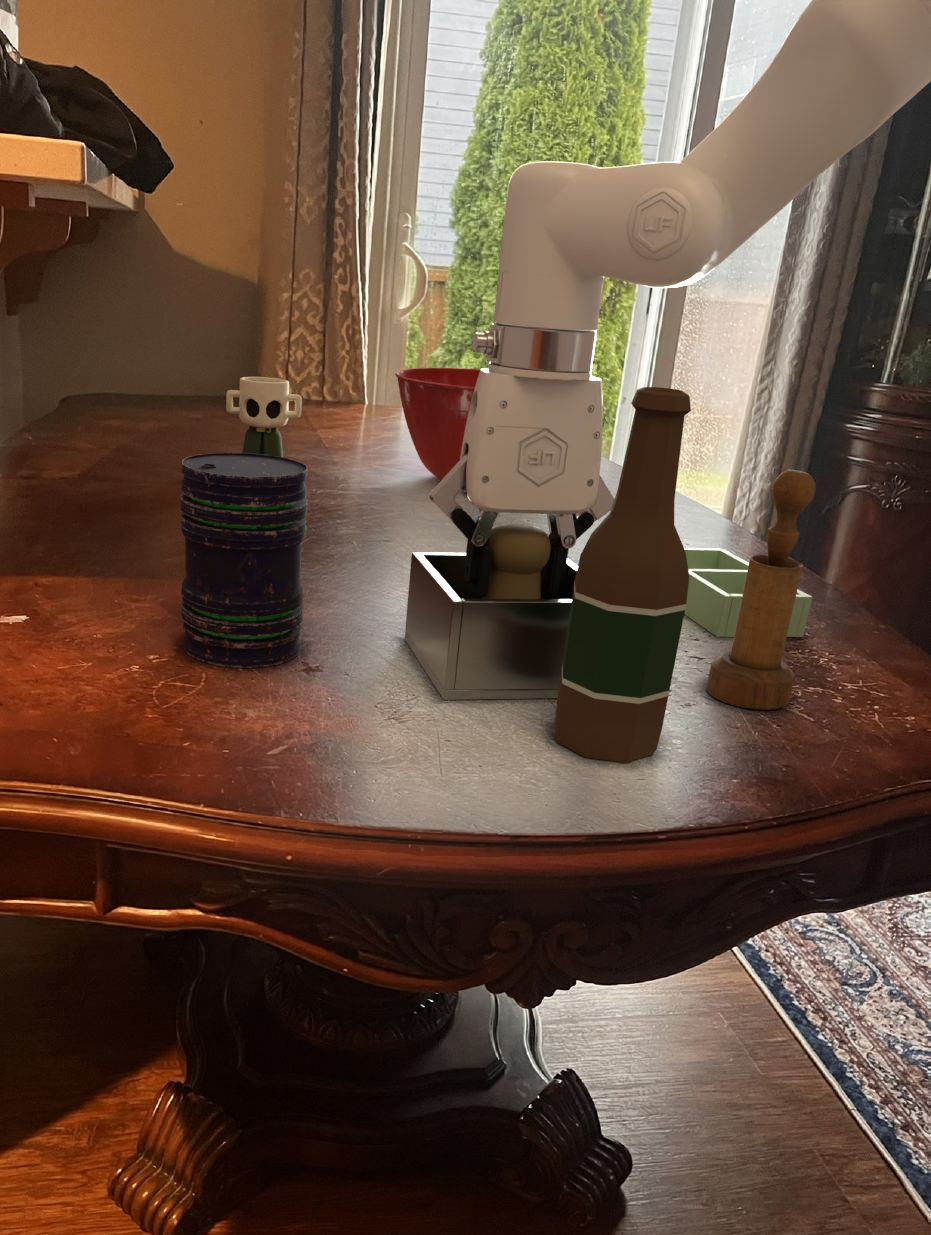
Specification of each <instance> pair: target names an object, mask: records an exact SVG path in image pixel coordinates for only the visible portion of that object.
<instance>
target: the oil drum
mask: <svg viewBox="0 0 931 1235" xmlns="http://www.w3.org/2000/svg"><path fill="white" fill-rule="evenodd" d="M181 474H182V475H183V478H182V479H181V494H180V496H179V497H180V511H181V521H180V524H179V525H180V527H181V534H182V535H183V537H184V550H185V551H184V553H185V555H184V556H185V557H184V560H185V561H184V562H185V568H184V569H185V577H184V579H183V580H182V582H181V590H180V595H181V604H180V606H181V608H180V609H181V610H180V611H181V619H182V621H183V622H182V629H183V631H184V636H183V639H182V641H183V642H182V646H183V650H184V652H185V654H187V655H188V656H190V657H191V658H193V659H195V660H197V661H200V662H203V663H204V664H205V663H206V664H210V665H213V666H219V667H226V668H237V669H255V668H265V667H272V666H277V665H282V664H284V663H287V662H290V661H291V660H294V659H296V657H298V655H299V654H300V653H301V645H302V644H301V642H302V641H301V639H300V635H301V633H302V623H303V621H304V604H303V603H304V599H305V592H304V585H303V583H302V582H301V571H302V546H303V542H304V540H305V539H306V532H307V530H308V527H307V525H306V524H307V517H308V502H309V501H308V499H307V492H308V491H307V490H308V486H307V484H306V481H307V480H308V466H307V464H305V463H303V462H301V461H298V460H295V459H292V458H286V457H284V456H283V457H278V456H271V455H262V454H250V453H242V452H209V453H202V454H200V453H199V454H194V455H190V456H187V457H185V458H183V459H182V460H181Z"/></svg>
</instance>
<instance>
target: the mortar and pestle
mask: <svg viewBox="0 0 931 1235" xmlns="http://www.w3.org/2000/svg"><path fill="white" fill-rule="evenodd" d="M815 493H816V482H815V479H814V477H813V476H812V475H810V473H808V472H805V471H802V470H797V469H787V470H784V471H783V472H781V473H780V474H779V475H777V477H776V478H775V480H774V481H773V484H772V488H771V497H772V500H773V503H774V504H773V505H774V507H775V510H776V521H775V523H774V525H772V526H771V527H769V528H767V533H766V534H767V535H766V540H767V543H766V544H767V555H765V554H756V555H751V556H750V557H749V559H748V560H749V561H748V563H749V565H748V570H747V575H746V580H745V585H744V590H743V595H742V600H741V605H740V610H739V615H738V620H737V625H736V630H735V634H734V637H733V639H732V643H731V644H732V645H731V650H729V651H726V652H724V653H722V655H720V656H718V657H715V659H713V660H712V661H711V664H710V667H709V672H708V676H707V682H706V687H705V688H706V691H707V693H708V694H709V696H711V697H713V698H714V699H717V700H718V701H721V702H723V703H725V704H728V705H731V706H735V707H739V708H745V709H753V710H759V711H760V710H762V711H763V710H764V711H765V710H766V711H767V710H768V711H770V710H777V709H781V708H784V707H786V706H787V705H788V704H789V703H790V700H791V697H792V692H793V687H794V684H795V673H794V672H793V670H791V669H790V667H789V665H788V664H787V662H785V661H784V660H783V656H784V652H785V647H786V643H787V638H788V637H787V633H788V629H789V624H790V620H791V616H792V611H793V607H794V602H795V598H796V594H797V590H798V589H799V585H800V580H801V577H802V574H803V569H804V564H803V563H802V562H799V561H797V560H794V559H791V558H789V557H790V555H791V553H792V552H793V549H794V548H795V546H796V543H797V542H798V539H799V537H800V532H799V531H798V529H797V520H798V517H799V516H800V515H801V513H803V511H804V510H805V509H806V507H807V506H808V505H809V504H810V503H811V502H812V501H813V499H814V497H815Z"/></svg>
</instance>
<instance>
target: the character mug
mask: <svg viewBox="0 0 931 1235" xmlns="http://www.w3.org/2000/svg"><path fill="white" fill-rule="evenodd" d="M225 396H226V398H225V402H226V403H225V410H226V413H228V414H230V415H231V414H232V415H238V417H239V419H240V422H241V423H242V424H243V425H245V426H248V428H247V429H246V432H245V434H244V438H243V439H244V440H243V445H242V452H241V453H250V454H262V455H271V456H278V457H283V458H284V448H283V440H282V439H283V438H282V434H281V432H280V431H279V430H278V429H279V428H282V427H284V426H286V425H287V424H288V421H289V419H290V418H292V419H298V418H301V416H302V405H303V398H302V395H300V394H295V393H290V381H289V380H287V379H283V378H278V377H267V376H243V377H240V378H239V389H228V390H226V394H225ZM234 398H239V401H238V402H239V405H238V406H234ZM290 402H294V410H289V403H290Z"/></svg>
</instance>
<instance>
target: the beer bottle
mask: <svg viewBox="0 0 931 1235" xmlns="http://www.w3.org/2000/svg"><path fill="white" fill-rule="evenodd" d="M630 404H631V405H632V407H633V408H634V413H633V418H632V422H631V423H632V424H631V427H630V432H629V437H628V441H627V445H626V450H625V455H624V458H623V463H622V464H623V465H622V468H621V472H620V477H619V482H618V485H617V486H618V487H617V490H616V494H615V495H614V496H615V497H614V502H613V505H612V508H611V510H610V511H609V512H608V513H609V514H607V515H606V516H605V517H604V519H603V520H602V521H601V522H600V523H599V525H598V526H597V527H596V528H595V529H594V530H593V532H591V534H590V535H589V538H588V540H587V541H586V543H585V545H584V547H583V549H582V550H581V553H580V555H579V560H578V563H577V566H578V568H577V572H576V577H575V582H574V589H573V596H572V602H571V609H570V616H569V623H568V629H567V636H566V643H565V650H564V656H563V663H562V670H561V677H560V684H559V690H558V697H557V698H556V707H555V708H556V709H555V718H554V719H555V720H554V724H555V725H554V726H555V727H554V728H555V732H554V735H555V737H554V738H555V740H556V743H557V744H559V745H560V746H562V747H565V748H567V749H568V750H570V751H573V752H574V753H576V754H578V755H580V756H582V757H584V758H586V759H593V760H603V761H611V762H618V763H625V764H626V763H630V762H633V761H636V760H639V759H642V758H646V757H649V756H651V755H654V753H656V751H657V749H658V746H659V742H660V737H661V735H662V730H663V725H664V721H665V717H666V716H665V715H666V710H667V705H668V700H669V696H670V691H671V685H672V679H673V674H674V669H675V665H676V660H677V656H678V655H677V654H678V649H679V644H680V638H681V634H682V627H683V622H684V618H685V614H684V613H685V608H686V602H687V593H688V585H689V571H688V565H687V558H686V552H685V549H684V548H685V547H684V545H683V542H682V539H681V538H680V535H679V533H678V530H677V528H676V525H675V500H676V499H675V498H676V489H677V481H678V476H679V475H678V473H679V467H680V466H679V465H680V456H681V448H682V441H683V432H684V424H685V416H686V415H687V414H689V413H691V411H692V409H691V408H692V407H691V397H690V395H689V394H688V393H687V392H685V391H684V390H681V389H676V388H669V387H658V386H643V387H640V388H637V389H636V391H635V393H634V396H633V398H632V400H631V402H630Z"/></svg>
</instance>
